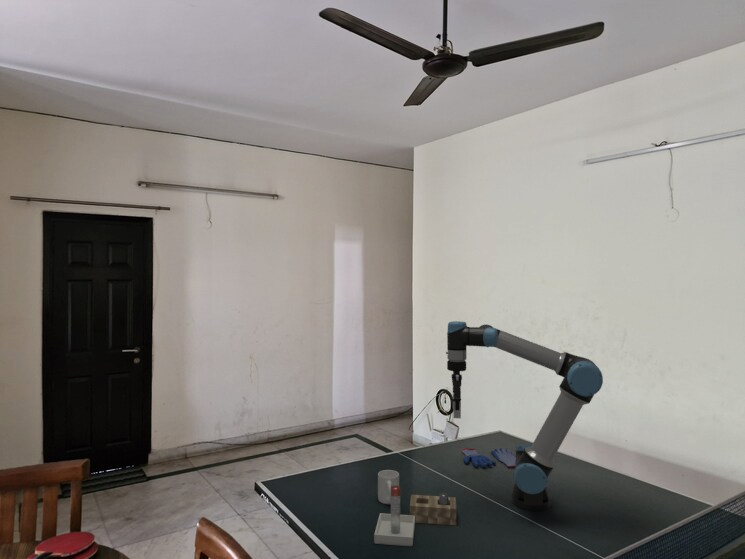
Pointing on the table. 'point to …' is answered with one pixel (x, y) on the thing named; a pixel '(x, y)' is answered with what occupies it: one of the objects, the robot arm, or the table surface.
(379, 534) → the tray
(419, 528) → the table surface
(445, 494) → the short pin
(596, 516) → the table surface
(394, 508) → the glass vial with cap
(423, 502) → the block
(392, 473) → the mug
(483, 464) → the pair of gloves
